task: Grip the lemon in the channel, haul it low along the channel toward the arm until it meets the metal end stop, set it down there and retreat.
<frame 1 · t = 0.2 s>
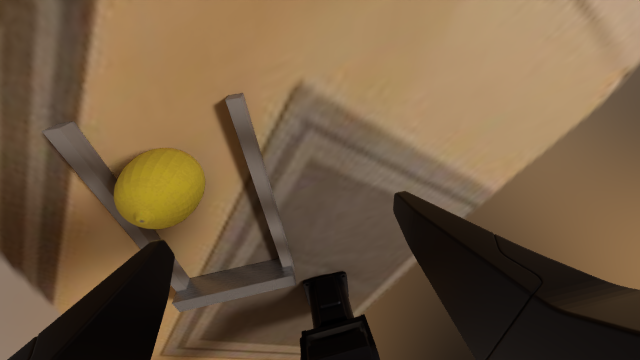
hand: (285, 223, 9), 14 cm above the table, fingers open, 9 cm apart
channel: (208, 214, 25), on the table
lemon: (181, 160, 22), on the table
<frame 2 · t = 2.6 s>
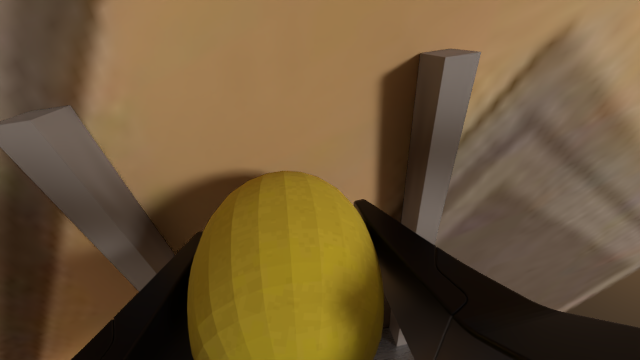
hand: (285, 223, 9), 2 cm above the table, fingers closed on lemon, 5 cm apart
channel: (304, 276, 14), on the table
lemon: (283, 190, 11), on the table, touching gripper
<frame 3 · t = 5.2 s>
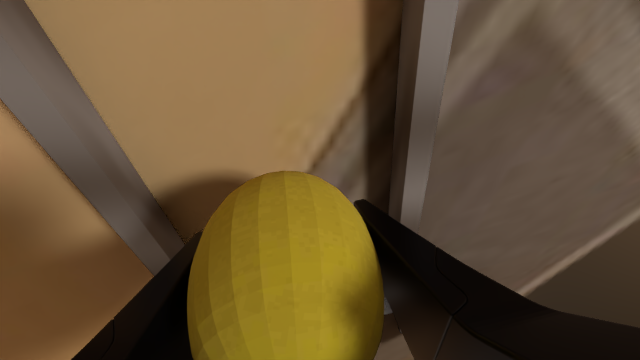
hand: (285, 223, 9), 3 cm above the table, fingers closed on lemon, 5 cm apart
channel: (273, 153, 11), on the table
lemon: (283, 190, 11), point 1 cm above the table, touching gripper
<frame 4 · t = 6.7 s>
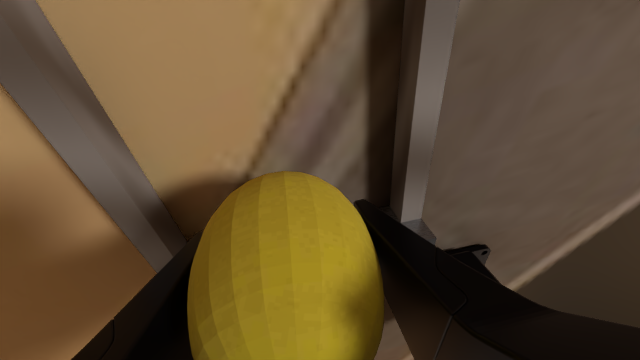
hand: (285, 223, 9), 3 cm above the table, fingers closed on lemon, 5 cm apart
channel: (249, 41, 9), on the table
lemon: (283, 190, 11), point 1 cm above the table, touching gripper
when the fingers open (2 cm above the table, at t = 7.9 s): lemon stays where it is, on the table.
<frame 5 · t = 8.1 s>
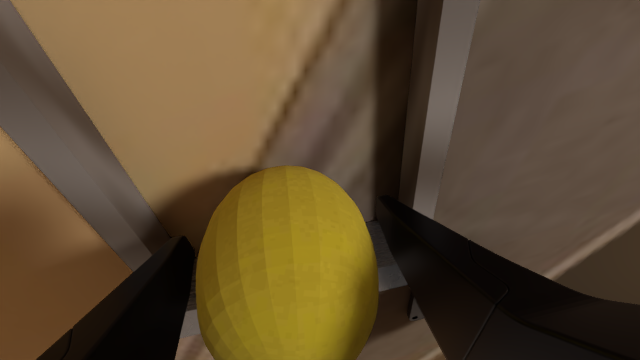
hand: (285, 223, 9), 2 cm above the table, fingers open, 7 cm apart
channel: (247, 43, 8), on the table
lemon: (284, 185, 11), on the table
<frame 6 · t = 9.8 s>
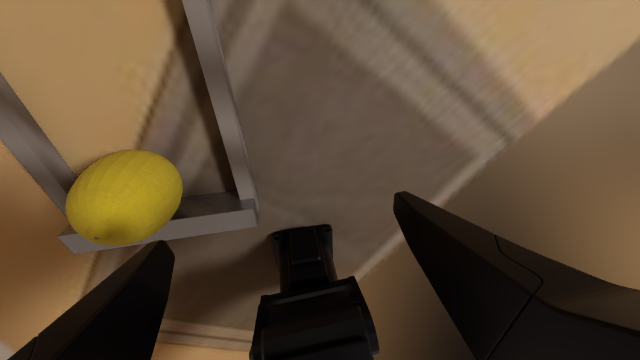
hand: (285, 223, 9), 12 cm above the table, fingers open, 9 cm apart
channel: (118, 86, 16), on the table
lemon: (159, 164, 19), on the table
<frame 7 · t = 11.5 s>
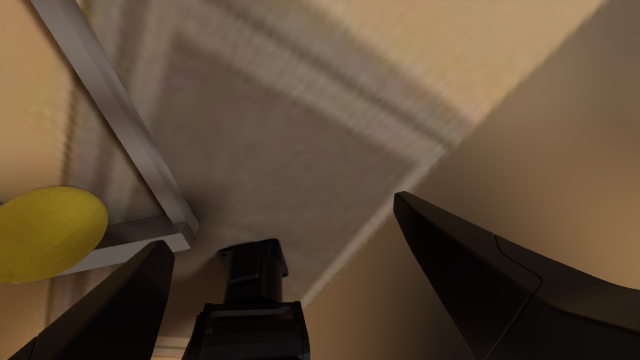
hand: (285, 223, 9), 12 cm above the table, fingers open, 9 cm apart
channel: (28, 127, 16), on the table
lemon: (89, 194, 20), on the table
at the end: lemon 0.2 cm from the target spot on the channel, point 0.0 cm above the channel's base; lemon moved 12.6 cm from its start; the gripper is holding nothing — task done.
